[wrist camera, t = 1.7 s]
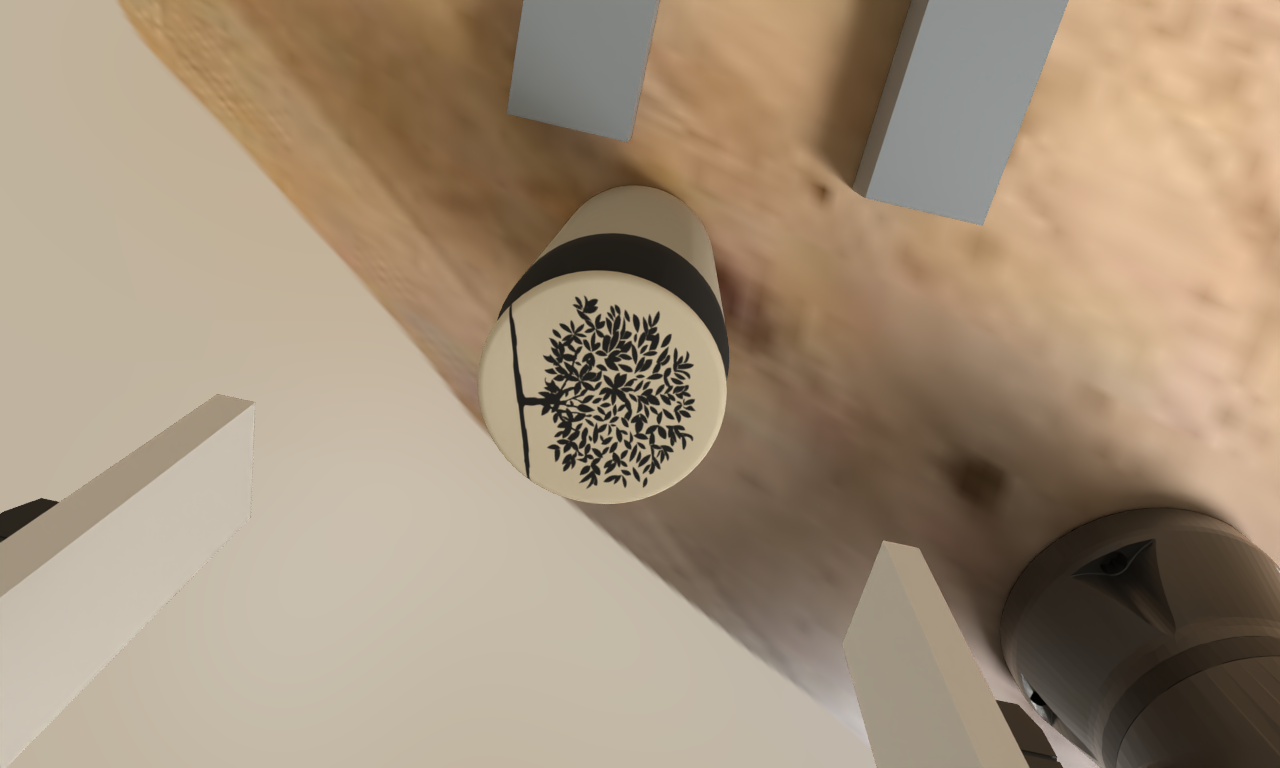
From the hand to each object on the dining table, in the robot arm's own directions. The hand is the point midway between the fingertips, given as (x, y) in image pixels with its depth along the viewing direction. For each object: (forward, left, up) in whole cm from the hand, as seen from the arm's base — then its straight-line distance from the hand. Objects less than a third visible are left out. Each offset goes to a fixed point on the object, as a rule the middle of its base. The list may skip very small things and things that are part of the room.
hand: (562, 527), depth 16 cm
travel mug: (0, 0, -26) cm, 26 cm away
